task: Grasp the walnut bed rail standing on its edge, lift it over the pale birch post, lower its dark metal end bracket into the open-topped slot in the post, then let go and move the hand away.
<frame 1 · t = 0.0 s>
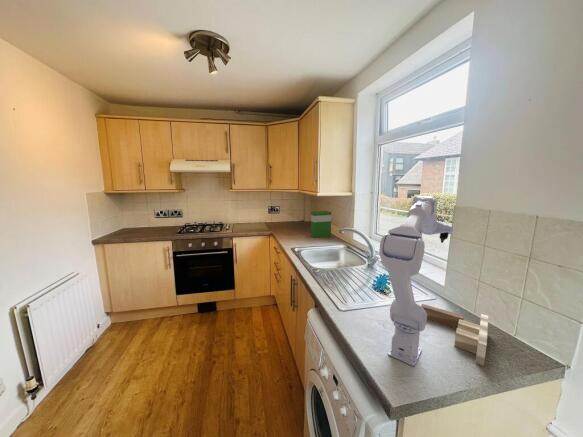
hand: (431, 238, 96), 32 cm above the countertop, tool tilted 50°, fingers open, 7 cm apart
bed rail: (440, 322, 96), on the countertop
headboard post: (466, 342, 85), on the countertop
hardback book: (320, 236, 237), on the countertop
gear: (381, 290, 125), on the countertop
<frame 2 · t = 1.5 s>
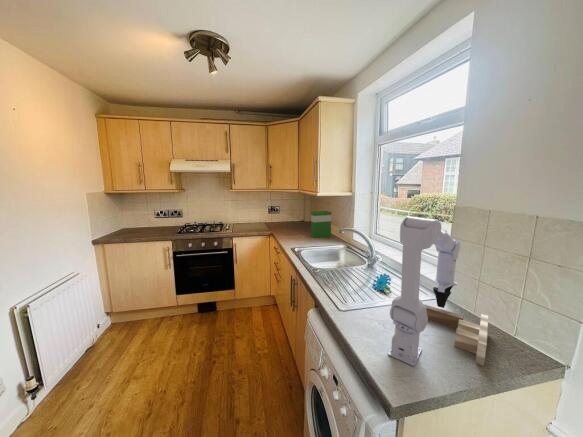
hand: (442, 302, 95), 8 cm above the countertop, tool pointing down, fingers open, 7 cm apart
nothing on the countertop moved.
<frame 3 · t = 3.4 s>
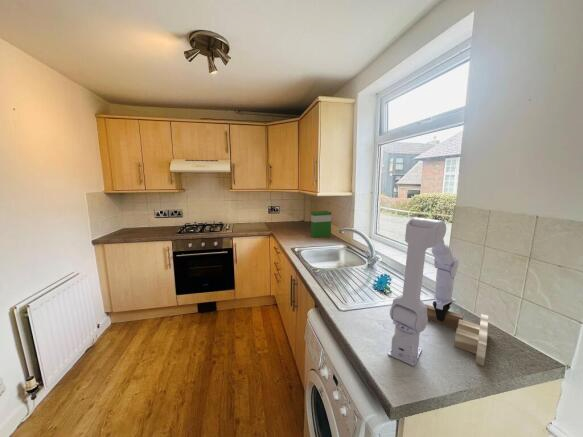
hand: (440, 318, 96), 1 cm above the countertop, tool pointing down, fingers closed on bed rail, 2 cm apart
bed rail: (440, 322, 96), on the countertop, touching gripper
everything else where it was.
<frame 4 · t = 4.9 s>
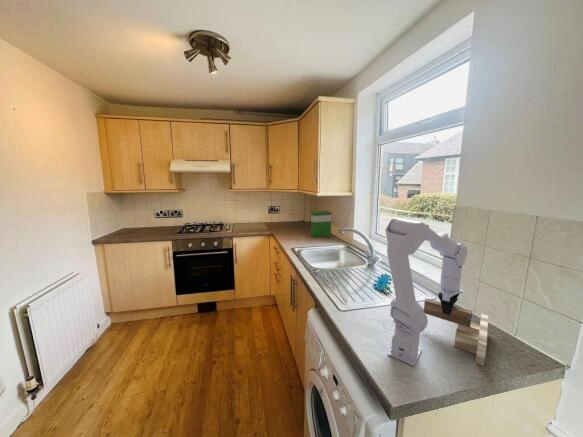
hand: (446, 312, 87), 9 cm above the countertop, tool pointing down, fingers closed on bed rail, 2 cm apart
bed rail: (445, 318, 88), point 6 cm above the countertop, touching gripper
everything else where it was.
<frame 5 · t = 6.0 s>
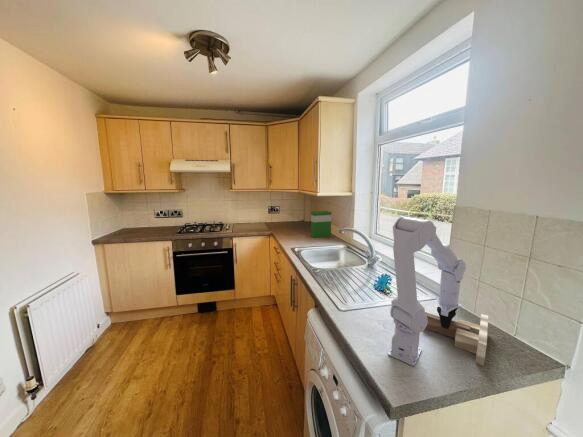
hand: (445, 325, 88), 4 cm above the countertop, tool pointing down, fingers closed on bed rail, 2 cm apart
bed rail: (444, 332, 89), point 1 cm above the countertop, touching gripper
everything else where it was.
when the fingers open (3 cm above the countertop, at t = 6.9 s): bed rail stays where it is, on the countertop.
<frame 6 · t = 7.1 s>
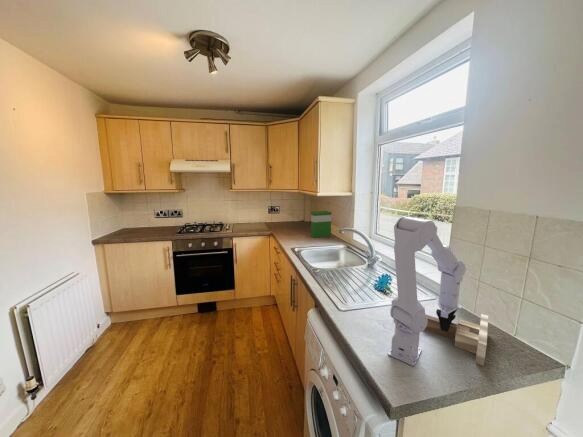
hand: (445, 327, 88), 3 cm above the countertop, tool pointing down, fingers open, 4 cm apart
bed rail: (444, 334, 89), on the countertop
everything else where it was.
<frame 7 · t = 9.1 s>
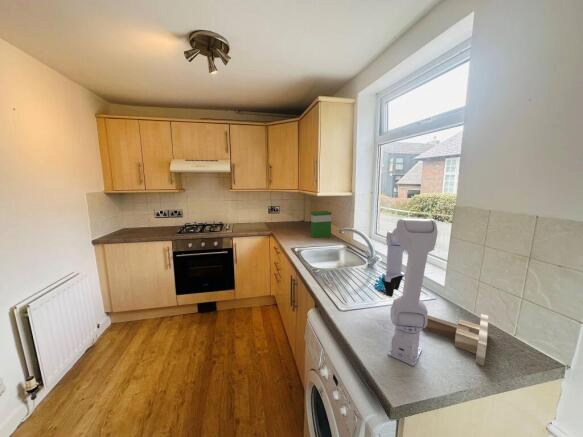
hand: (392, 292, 101), 9 cm above the countertop, tool pointing down, fingers open, 7 cm apart
nothing on the countertop moved.
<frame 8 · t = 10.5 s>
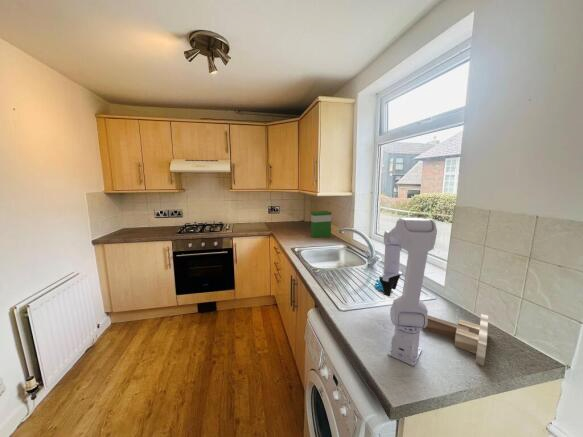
hand: (389, 291, 102), 9 cm above the countertop, tool pointing down, fingers open, 7 cm apart
at the end: bed rail 0.5 cm from the target spot on the countertop beside the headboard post, on the countertop; bed rail tilted 0°; the gripper is holding nothing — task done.
